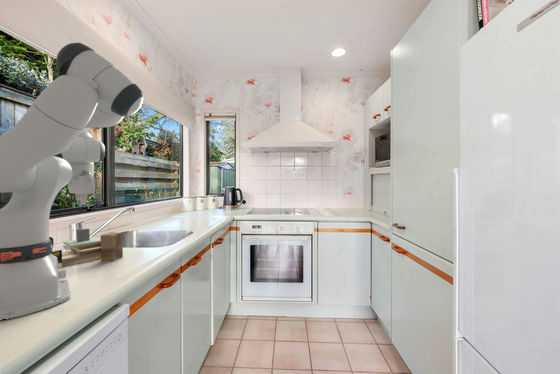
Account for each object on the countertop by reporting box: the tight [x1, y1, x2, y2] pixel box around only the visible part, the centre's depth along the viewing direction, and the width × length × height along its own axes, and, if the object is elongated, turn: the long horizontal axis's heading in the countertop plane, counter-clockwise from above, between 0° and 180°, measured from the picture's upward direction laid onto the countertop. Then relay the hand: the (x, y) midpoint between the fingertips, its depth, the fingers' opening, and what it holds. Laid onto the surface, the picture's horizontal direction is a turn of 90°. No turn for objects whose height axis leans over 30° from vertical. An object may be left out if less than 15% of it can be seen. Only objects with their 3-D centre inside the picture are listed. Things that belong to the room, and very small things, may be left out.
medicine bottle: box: [49, 235, 63, 269], centre depth 88 cm, size 7×7×12 cm
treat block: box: [100, 232, 124, 262], centre depth 99 cm, size 5×5×10 cm
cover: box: [63, 228, 101, 248], centre depth 109 cm, size 11×11×6 cm
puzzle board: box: [62, 242, 101, 268], centre depth 100 cm, size 12×18×4 cm, turn 143°
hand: (81, 204), depth 105 cm, fingers open, 2 cm apart
